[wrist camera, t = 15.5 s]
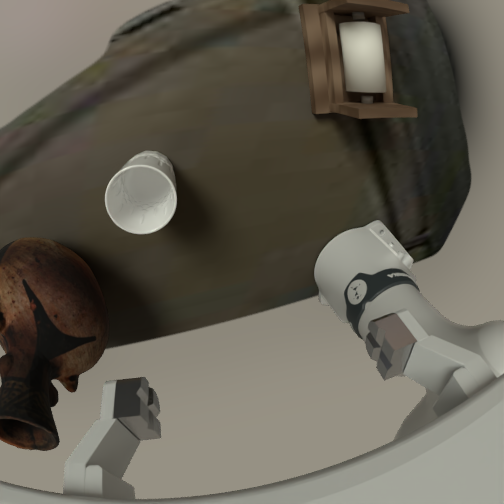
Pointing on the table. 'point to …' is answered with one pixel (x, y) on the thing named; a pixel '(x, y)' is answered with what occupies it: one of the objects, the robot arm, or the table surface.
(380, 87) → the paper roll
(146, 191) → the white cup
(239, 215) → the table surface
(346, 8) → the roll holder
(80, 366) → the ceramic vessel
